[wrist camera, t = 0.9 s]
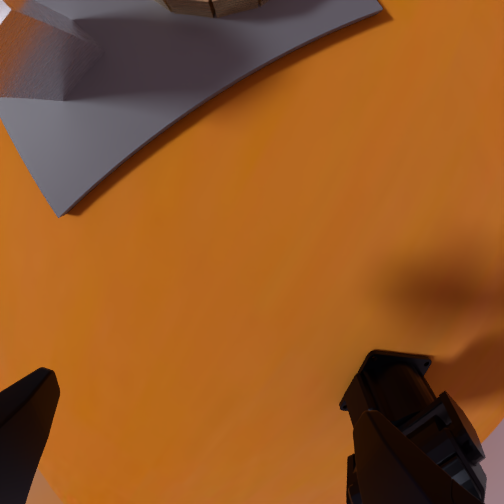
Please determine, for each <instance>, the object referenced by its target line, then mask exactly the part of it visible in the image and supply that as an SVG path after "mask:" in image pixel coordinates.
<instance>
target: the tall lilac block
mask: <svg viewBox="0 0 504 504" xmlns="http://www.w3.org/2000/svg"><path fill="white" fill-rule="evenodd" d="M104 52H105V50H104V49H103V48H102V47H101V46H100V45H99V44H98V43H97V42H96V41H95V40H94V39H93V38H91V37H90V36H89V35H88V34H87V33H86V32H85V31H84V30H83V29H82V28H81V27H80V26H78V25H77V24H76V23H75V22H74V21H73V20H72V19H70V18H68V17H66V16H64V15H62V14H60V13H58V12H56V11H54V10H52V9H50V8H48V7H46V6H44V5H42V4H40V3H38V2H36V1H34V0H0V97H7V98H28V99H43V100H55V101H64V100H65V99H66V97H67V96H68V95H69V93H70V92H71V91H72V90H73V88H74V87H75V86H76V85H77V83H78V82H79V81H80V80H81V79H82V77H83V76H84V75H85V74H86V73H87V71H88V70H89V69H90V68H91V67H92V66H93V65H94V63H95V62H96V61H97V60H98V59H99V58H100V57H101V56H102V55H103V53H104Z"/></svg>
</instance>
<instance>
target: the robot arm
mask: <svg viewBox="0 0 504 504" xmlns="http://www.w3.org/2000/svg"><path fill="white" fill-rule="evenodd" d="M374 356H375V357H374ZM372 357H374V358H372ZM430 365H431V360H430V358H429V357H425V356H415V355H406V354H397V353H389V352H381V351H371V352H370V353H368V355H367V356H366V358H365V360H364V362H363V364H362V366H361V367H360V369H359V371H358V373H357V374H356V375H355V377H354V378H353V380H352V382H351V384H350V385H349V387H348V389H347V390H346V392H345V394H344V397H343V398H342V400H341V402H340V404H339V406H340V409H341V410H343V411H348V412H349V415H350V418H351V421H352V425H353V428H354V429H353V439H354V450H355V454H352V455H350V456H349V457H348V459H347V491H346V497H347V500H346V503H347V504H485V503H484V498H485V490H486V480H487V478H486V475H485V473H484V471H483V469H482V467H481V465H480V464H479V462H481V461H482V460H483V459H485V454H484V452H483V449H482V446H481V443H480V441H479V438H478V436H477V433H476V431H475V429H474V427H473V426H472V424H471V423H470V421H469V420H468V418H467V416H466V415H465V413H464V412H463V410H462V409H461V408H460V407H459V406H458V405H457V404H456V402H455V401H454V400H453V399H452V398H451V397H450V396H449V394H448V393H447V392H446V391H444V392H443V393H441V394H440V395H439V397H438V398H436V396H435V394H434V393H433V391H432V389H431V388H430V386H429V384H428V383H427V381H426V379H425V378H424V374H425V373H426V371H427V370H428V368H429V366H430ZM59 397H60V388H59V385H58V382H57V378H56V375H55V372H54V371H53V370H50V369H47V368H44V367H41V368H39V369H37V370H35V371H34V372H32V373H30V374H29V375H27V376H26V377H24V378H22V379H21V380H19V381H17V382H16V383H14V384H13V385H11V386H9V387H8V388H6V389H4V390H3V391H1V392H0V504H25V503H26V500H27V496H28V493H29V490H30V487H31V484H32V481H33V478H34V475H35V472H36V469H37V467H38V464H39V461H40V458H41V456H42V453H43V450H44V447H45V445H46V442H47V439H48V436H49V433H50V429H51V425H52V421H53V418H54V414H55V411H56V407H57V404H58V400H59Z"/></svg>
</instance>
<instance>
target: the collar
mask: <svg viewBox="0 0 504 504" xmlns="http://www.w3.org/2000/svg"><path fill="white" fill-rule="evenodd" d="M154 1H156V2H157V3H158V4H160V5H161V6H163V7H164V8H166V9H167V10H169V11H170V12H172V11H173V12H174V14H184V15H193V16H201V17H208V18H214V15H215V12H216V15H217V18H219V17H223V16H227V15H230V14H234V13H238V12H243V11H247V10H251V9H256V8H258V5H260V6H262V5H264V4H265V3H266V2H268V1H269V0H154Z"/></svg>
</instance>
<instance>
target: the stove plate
mask: <svg viewBox="0 0 504 504" xmlns="http://www.w3.org/2000/svg"><path fill="white" fill-rule="evenodd" d="M34 1H36V2H38V3H40V4H42V5H44V6H46V7H48V8H50V9H52V10H54V11H56V12H58V13H60V14H62V15H64V16H66V17H68V18H70V19H72V20H73V21H74V22H75V23H76V24H77V25H78V26H80V27H81V28H82V29H83V30H84V31H85V32H86V33H87V34H88V35H89V36H90V37H91V38H93V39H94V40H95V41H96V42H97V43H98V44H99V45H100V46H101V47H102V48H103V49H104V50H105V52H104V53H103V55H102V56H101V57H100V58H99V59H98V60H97V61H96V62H95V63H94V65H93V66H92V67H91V68H90V69H89V70H88V71H87V73H86V74H85V75H84V76H83V77H82V79H81V80H80V81H79V82H78V83H77V85H76V86H75V87H74V88H73V90H72V91H71V92H70V93H69V95H68V96H67V97H66V99H65V100H64V101H55V100H43V99H28V98H7V97H0V118H1V120H2V122H3V124H4V126H5V128H6V130H7V132H8V134H9V136H10V138H11V140H12V141H13V143H14V145H15V147H16V149H17V151H18V153H19V154H20V156H21V158H22V160H23V161H24V163H25V165H26V167H27V168H28V170H29V172H30V174H31V175H32V177H33V179H34V180H35V182H36V184H37V185H38V187H39V189H40V190H41V192H42V193H43V195H44V197H45V198H46V200H47V201H48V203H49V205H50V206H51V208H52V209H53V211H54V212H55V214H56V215H57V217H58V218H60V217H61V216H63V215H65V214H67V213H68V212H69V211H70V210H71V209H72V208H73V207H74V206H75V205H76V204H77V203H78V202H79V201H80V200H81V199H82V198H83V197H85V196H86V195H87V194H88V193H89V192H90V191H91V190H92V189H93V188H95V187H96V186H97V185H98V184H99V183H100V182H101V181H103V180H104V179H105V178H106V177H107V176H108V175H109V174H111V173H112V172H113V171H114V170H115V169H117V168H118V167H119V166H120V165H121V164H123V163H124V162H125V161H126V160H128V159H129V158H130V157H131V156H132V155H134V154H135V153H136V152H138V151H139V150H140V149H141V148H143V147H144V146H145V145H146V144H148V143H149V142H150V141H152V140H153V139H154V138H156V137H157V136H158V135H160V134H161V133H162V132H164V131H165V130H166V129H168V128H169V127H171V126H172V125H173V124H175V123H176V122H178V121H179V120H180V119H182V118H183V117H185V116H186V115H188V114H189V113H190V112H192V111H193V110H195V109H196V108H198V107H199V106H201V105H202V104H204V103H205V102H207V101H208V100H210V99H212V98H213V97H215V96H216V95H218V94H219V93H221V92H222V91H224V90H226V89H227V88H229V87H231V86H232V85H234V84H235V83H237V82H239V81H240V80H242V79H244V78H245V77H247V76H249V75H251V74H252V73H254V72H256V71H258V70H259V69H261V68H263V67H265V66H266V65H268V64H270V63H272V62H274V61H276V60H277V59H279V58H281V57H283V56H285V55H287V54H289V53H291V52H293V51H295V50H297V49H299V48H301V47H303V46H305V45H307V44H309V43H311V42H313V41H315V40H317V39H319V38H321V37H324V36H326V35H328V34H330V33H332V32H335V31H337V30H339V29H341V28H344V27H346V26H348V25H351V24H353V23H356V22H358V21H361V20H363V19H366V18H368V17H371V16H373V15H376V14H378V13H379V12H380V11H382V10H383V8H382V7H381V5H380V4H379V3H378V1H377V0H269V1H268V2H266V3H265V4H264V5H262V6H260V5H258V8H256V9H251V10H247V11H243V12H238V13H234V14H230V15H227V16H223V17H219V18H217V15H216V12H215V15H214V18H208V17H201V16H193V15H184V14H174V12H173V11H172V12H170V11H169V10H167V9H166V8H164V7H163V6H161V5H160V4H158V3H157V2H156V1H154V0H34Z"/></svg>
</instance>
